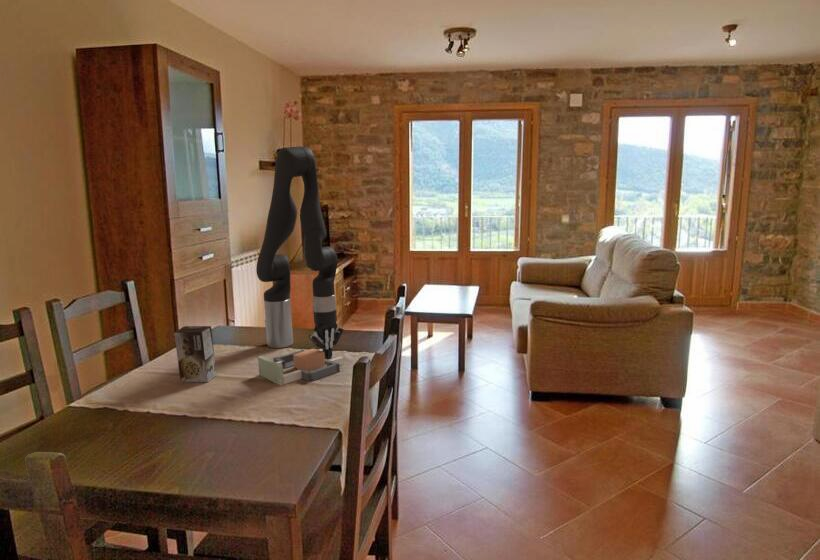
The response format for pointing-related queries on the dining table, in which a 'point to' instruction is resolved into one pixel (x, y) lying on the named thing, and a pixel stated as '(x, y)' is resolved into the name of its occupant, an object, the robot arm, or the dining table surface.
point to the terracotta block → (309, 359)
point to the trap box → (275, 371)
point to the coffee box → (195, 353)
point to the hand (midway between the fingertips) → (327, 358)
